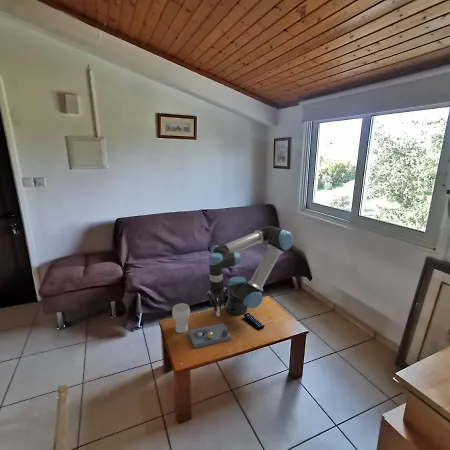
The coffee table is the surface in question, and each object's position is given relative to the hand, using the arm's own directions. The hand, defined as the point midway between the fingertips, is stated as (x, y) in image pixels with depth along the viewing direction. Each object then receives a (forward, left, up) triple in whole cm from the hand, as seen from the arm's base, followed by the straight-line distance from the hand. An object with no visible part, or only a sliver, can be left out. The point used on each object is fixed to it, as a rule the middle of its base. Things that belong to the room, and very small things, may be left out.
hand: (217, 315), depth 166 cm
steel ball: (+12, +3, -9) cm, 15 cm away
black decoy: (-2, +8, -7) cm, 11 cm away
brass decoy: (+7, +8, -6) cm, 13 cm away
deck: (+6, +4, -11) cm, 13 cm away
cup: (+20, -9, -11) cm, 25 cm away
